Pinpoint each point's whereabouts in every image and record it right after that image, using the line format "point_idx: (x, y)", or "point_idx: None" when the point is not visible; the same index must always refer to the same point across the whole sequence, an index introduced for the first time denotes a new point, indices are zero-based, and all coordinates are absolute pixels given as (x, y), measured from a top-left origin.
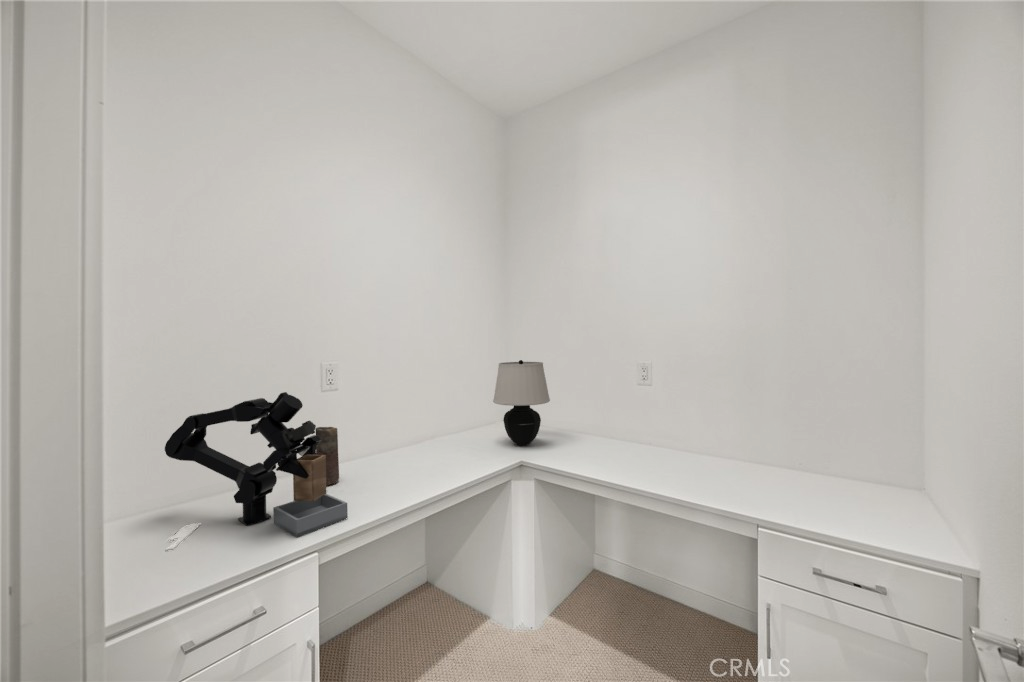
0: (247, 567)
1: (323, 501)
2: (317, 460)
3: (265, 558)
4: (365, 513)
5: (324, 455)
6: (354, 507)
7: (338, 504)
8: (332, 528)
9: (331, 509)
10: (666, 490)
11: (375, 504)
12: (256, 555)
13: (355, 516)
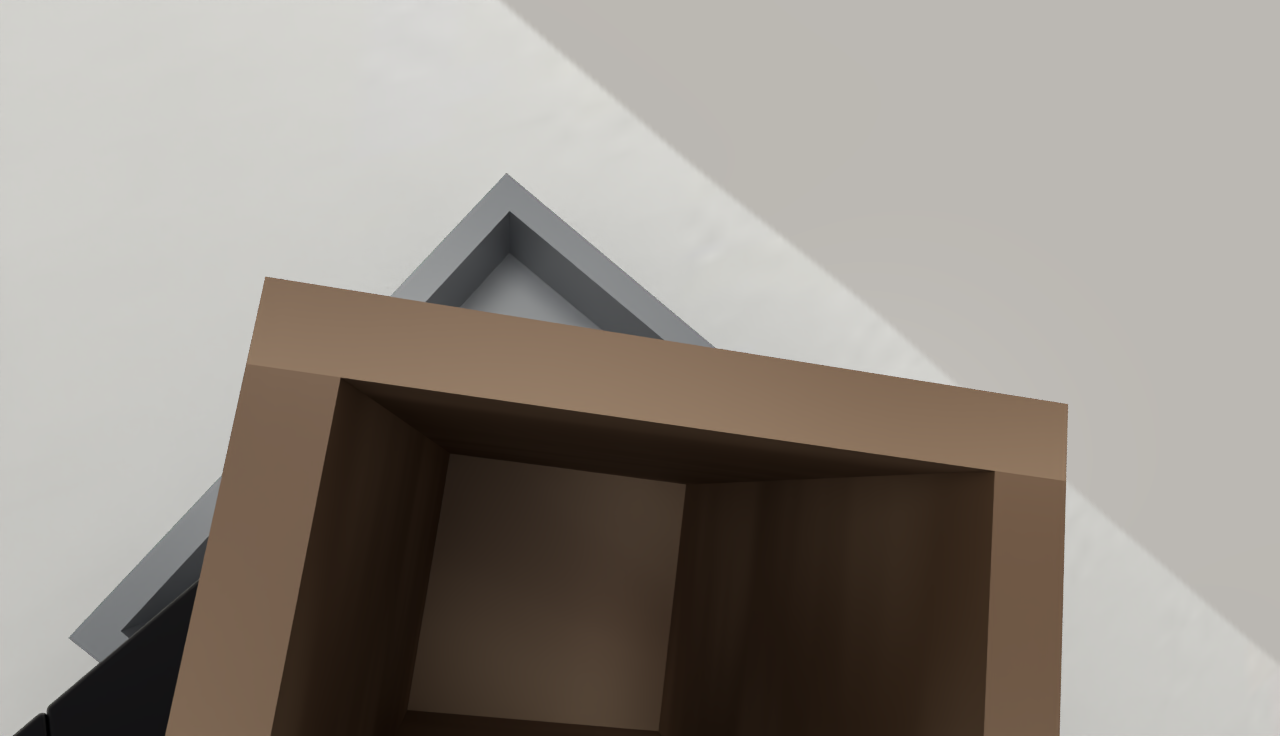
0: (1243, 645)
1: (199, 575)
2: (822, 374)
3: (1139, 590)
4: (399, 103)
5: (340, 301)
6: (225, 249)
7: (438, 303)
8: (696, 295)
9: (649, 295)
10: None
11: (170, 59)
12: (1107, 687)
13: (461, 175)
